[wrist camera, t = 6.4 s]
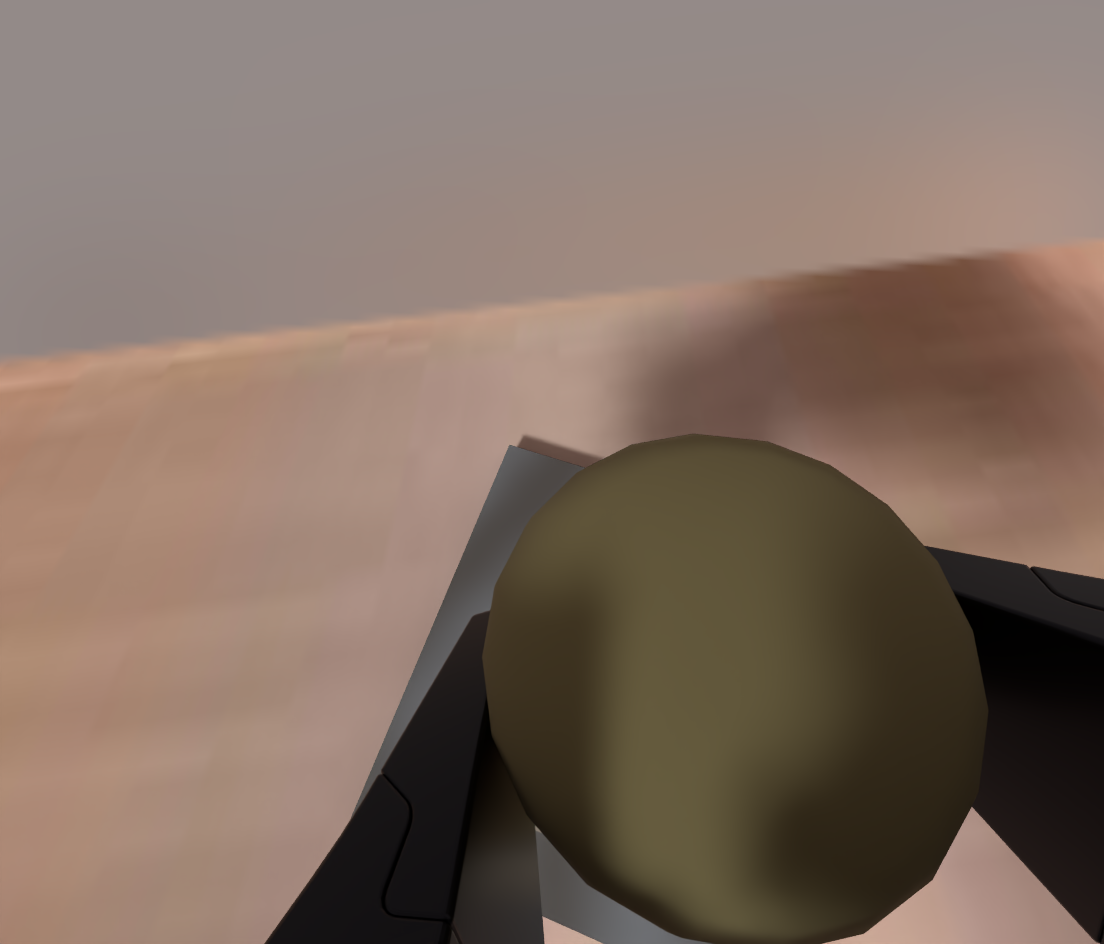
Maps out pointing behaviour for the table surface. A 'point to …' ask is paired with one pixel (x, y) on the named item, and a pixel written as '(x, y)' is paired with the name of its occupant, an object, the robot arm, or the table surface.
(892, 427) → the table surface
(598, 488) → the cork
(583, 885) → the socket
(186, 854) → the table surface
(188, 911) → the table surface
